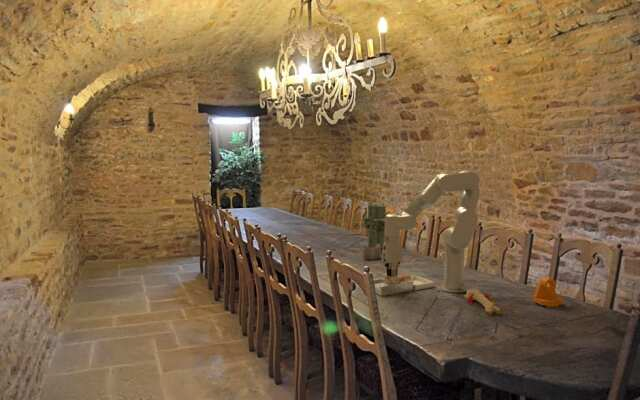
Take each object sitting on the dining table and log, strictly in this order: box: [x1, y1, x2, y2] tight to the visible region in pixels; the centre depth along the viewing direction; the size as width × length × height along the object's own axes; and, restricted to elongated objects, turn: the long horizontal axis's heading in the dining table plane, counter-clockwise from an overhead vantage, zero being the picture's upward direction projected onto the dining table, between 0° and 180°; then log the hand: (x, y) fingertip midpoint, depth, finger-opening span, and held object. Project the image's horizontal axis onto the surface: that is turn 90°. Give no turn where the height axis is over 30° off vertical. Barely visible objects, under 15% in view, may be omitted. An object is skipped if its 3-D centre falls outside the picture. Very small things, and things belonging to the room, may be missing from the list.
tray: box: [410, 275, 436, 291], centre depth 262 cm, size 15×13×2 cm
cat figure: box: [463, 288, 502, 316], centre depth 228 cm, size 10×9×25 cm
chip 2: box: [399, 273, 412, 282], centre depth 258 cm, size 4×4×3 cm
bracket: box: [532, 275, 564, 308], centre depth 231 cm, size 11×7×12 cm, turn 98°
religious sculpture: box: [363, 204, 387, 249], centre depth 356 cm, size 24×12×30 cm, turn 15°
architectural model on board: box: [362, 244, 382, 261], centre depth 322 cm, size 11×3×10 cm, turn 115°
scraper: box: [384, 262, 399, 284], centre depth 254 cm, size 8×3×11 cm, turn 31°
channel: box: [373, 277, 414, 297], centre depth 254 cm, size 13×20×4 cm, turn 120°
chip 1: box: [396, 274, 404, 283], centre depth 256 cm, size 4×4×3 cm
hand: (392, 275), depth 254 cm, fingers closed on scraper, 3 cm apart
